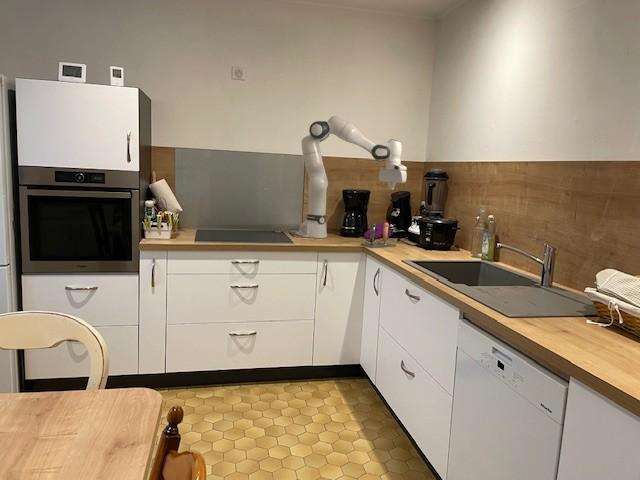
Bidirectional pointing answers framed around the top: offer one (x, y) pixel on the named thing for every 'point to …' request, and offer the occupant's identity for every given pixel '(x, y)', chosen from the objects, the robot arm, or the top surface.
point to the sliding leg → (385, 232)
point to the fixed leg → (372, 233)
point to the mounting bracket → (377, 231)
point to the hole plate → (378, 244)
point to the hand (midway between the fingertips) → (391, 189)
